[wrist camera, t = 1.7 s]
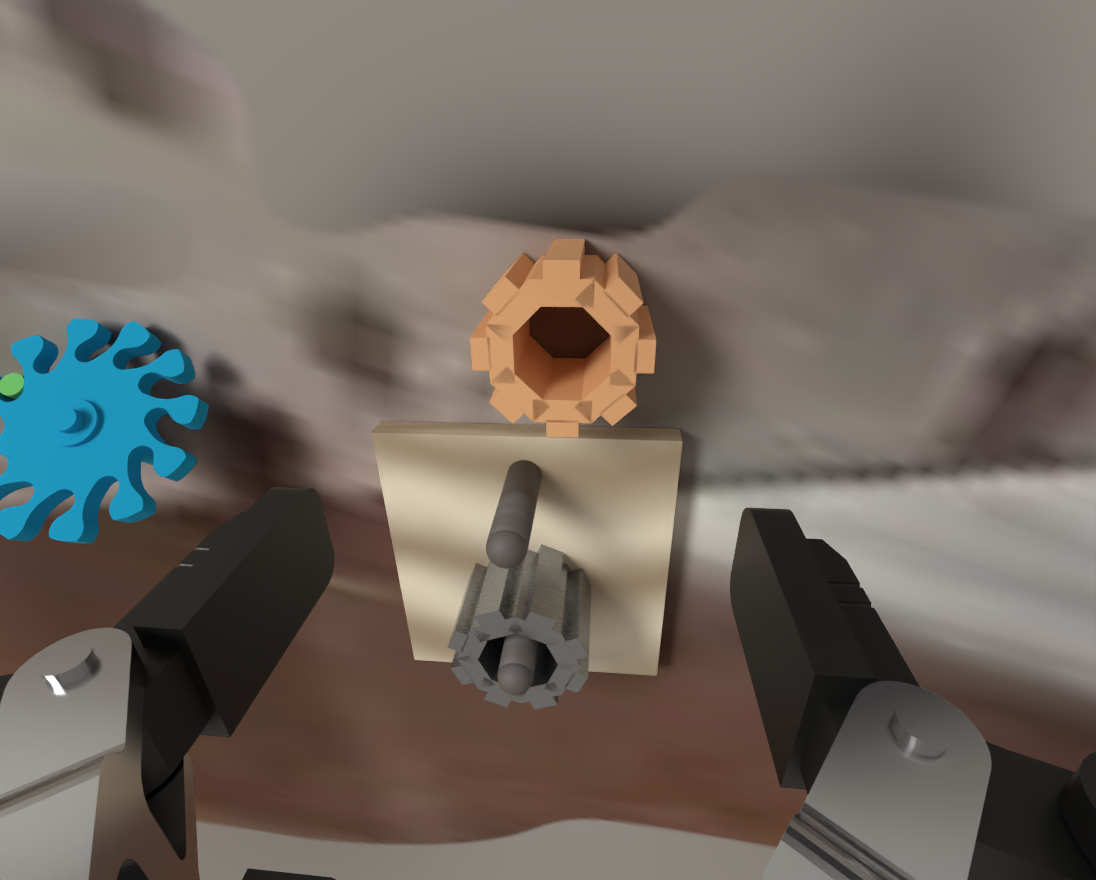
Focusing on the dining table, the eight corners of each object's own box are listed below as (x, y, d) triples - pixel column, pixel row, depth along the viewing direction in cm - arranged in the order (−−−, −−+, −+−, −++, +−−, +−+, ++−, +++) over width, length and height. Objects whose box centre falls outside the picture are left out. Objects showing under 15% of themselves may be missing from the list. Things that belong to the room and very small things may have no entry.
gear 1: (489, 239, 22) (463, 260, 18) (652, 238, 21) (662, 259, 17) (498, 388, 25) (478, 434, 21) (641, 391, 24) (648, 439, 20)
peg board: (380, 421, 26) (309, 508, 20) (679, 428, 25) (704, 525, 19) (420, 643, 33) (377, 760, 27) (655, 658, 32) (666, 784, 26)
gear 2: (448, 562, 29) (423, 629, 25) (562, 529, 27) (554, 595, 23) (501, 645, 31) (486, 718, 27) (608, 620, 29) (609, 694, 25)
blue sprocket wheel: (235, 357, 24) (98, 582, 21) (291, 404, 29) (189, 586, 26) (11, 270, 24) (-150, 476, 22) (108, 333, 30) (-10, 502, 27)
